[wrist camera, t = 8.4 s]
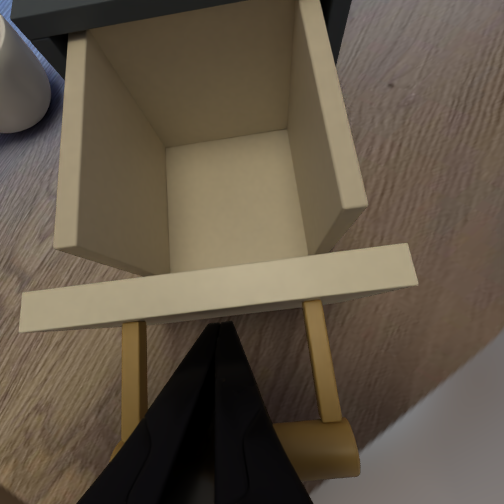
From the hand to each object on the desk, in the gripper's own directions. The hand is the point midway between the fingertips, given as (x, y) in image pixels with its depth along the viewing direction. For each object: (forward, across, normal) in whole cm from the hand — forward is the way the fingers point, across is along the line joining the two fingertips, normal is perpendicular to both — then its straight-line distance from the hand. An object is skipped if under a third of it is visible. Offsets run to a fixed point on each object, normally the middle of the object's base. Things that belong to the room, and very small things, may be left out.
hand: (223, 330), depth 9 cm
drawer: (+8, 0, +2) cm, 9 cm away
